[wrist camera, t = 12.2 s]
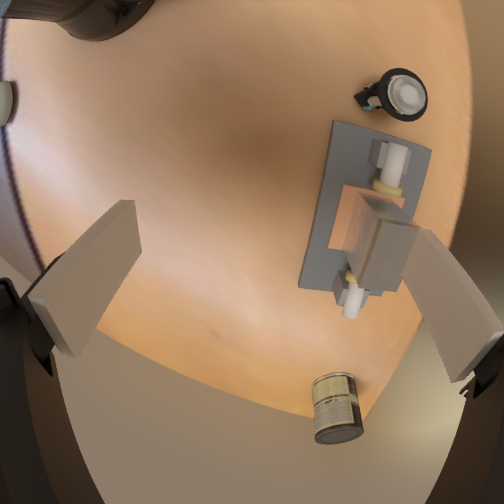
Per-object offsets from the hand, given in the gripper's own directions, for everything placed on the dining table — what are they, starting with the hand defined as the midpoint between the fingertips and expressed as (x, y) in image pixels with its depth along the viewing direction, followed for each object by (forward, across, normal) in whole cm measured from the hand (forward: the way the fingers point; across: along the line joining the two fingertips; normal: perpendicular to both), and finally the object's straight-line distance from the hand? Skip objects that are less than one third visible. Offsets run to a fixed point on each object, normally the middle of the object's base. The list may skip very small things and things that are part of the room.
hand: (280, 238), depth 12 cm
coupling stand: (+22, +13, -8) cm, 27 cm away
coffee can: (+21, +20, -49) cm, 57 cm away
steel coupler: (+21, +13, -8) cm, 26 cm away
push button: (+23, +12, +9) cm, 28 cm away
